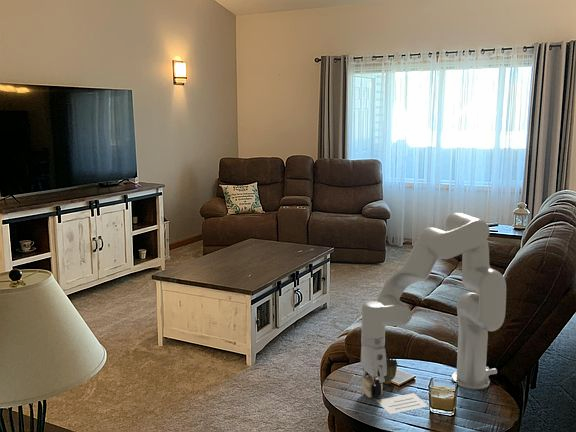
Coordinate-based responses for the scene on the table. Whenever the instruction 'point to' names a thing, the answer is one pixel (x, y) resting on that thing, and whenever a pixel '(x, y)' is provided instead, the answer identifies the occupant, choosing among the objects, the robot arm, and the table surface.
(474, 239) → the robot arm
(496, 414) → the table surface
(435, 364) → the table surface
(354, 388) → the table surface
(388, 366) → the dark olive tapered piece
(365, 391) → the beech block
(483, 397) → the table surface
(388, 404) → the letter
